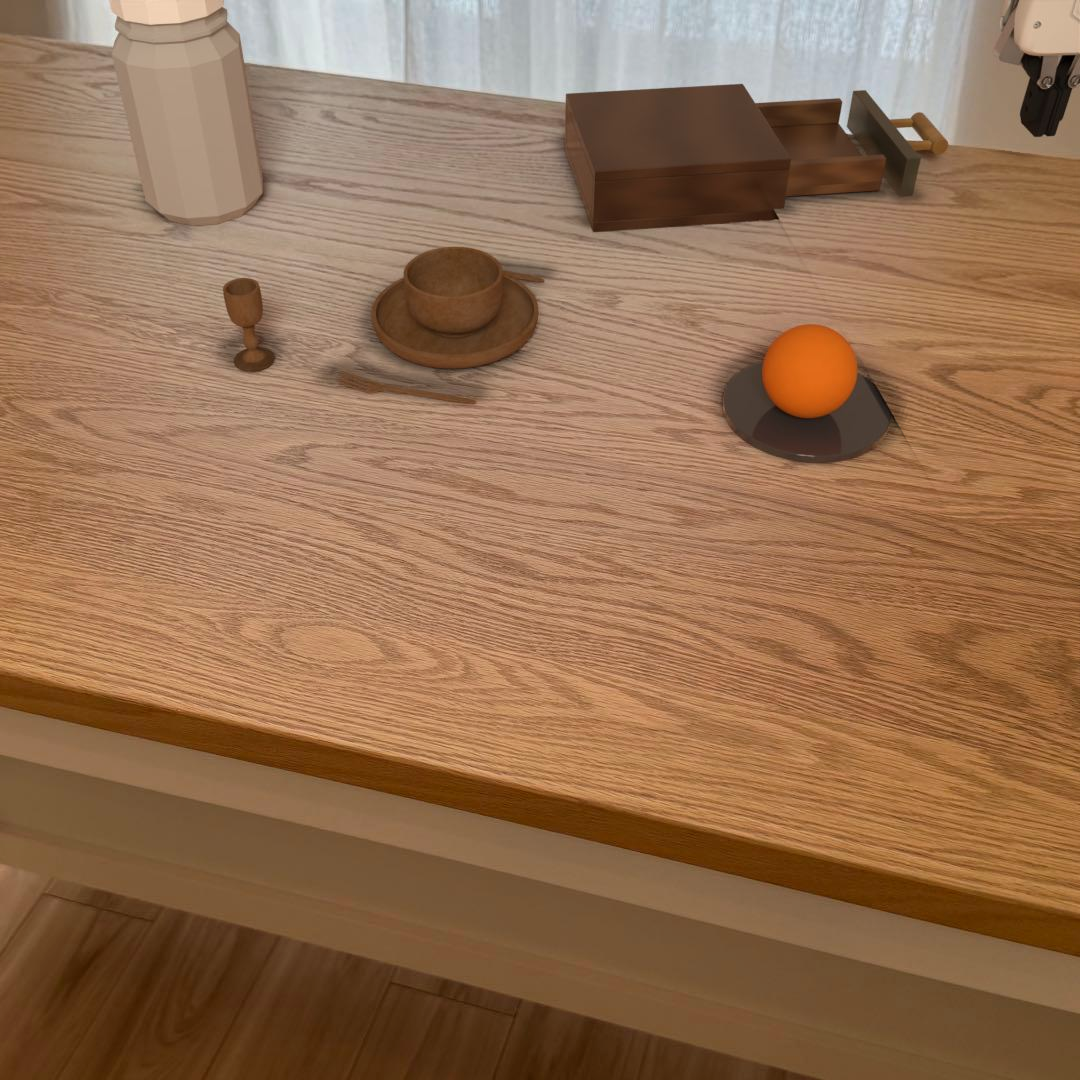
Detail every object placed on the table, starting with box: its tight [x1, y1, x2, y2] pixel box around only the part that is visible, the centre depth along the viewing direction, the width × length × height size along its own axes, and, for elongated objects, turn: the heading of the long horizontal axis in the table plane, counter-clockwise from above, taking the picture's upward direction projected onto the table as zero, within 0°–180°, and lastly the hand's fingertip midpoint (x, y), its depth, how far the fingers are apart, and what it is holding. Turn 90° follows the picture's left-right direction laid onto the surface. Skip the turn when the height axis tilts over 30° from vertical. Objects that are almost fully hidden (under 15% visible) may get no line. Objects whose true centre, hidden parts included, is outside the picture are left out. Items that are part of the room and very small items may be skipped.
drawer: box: [755, 89, 949, 198], centre depth 106 cm, size 19×14×3 cm
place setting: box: [222, 246, 545, 405], centre depth 88 cm, size 18×20×6 cm
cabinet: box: [564, 83, 791, 233], centre depth 105 cm, size 16×15×5 cm
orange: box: [762, 323, 858, 418], centre depth 80 cm, size 6×6×6 cm
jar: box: [108, 0, 264, 227], centre depth 98 cm, size 10×10×18 cm
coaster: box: [722, 360, 892, 464], centre depth 83 cm, size 11×11×1 cm
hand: (1037, 129), depth 102 cm, fingers closed
